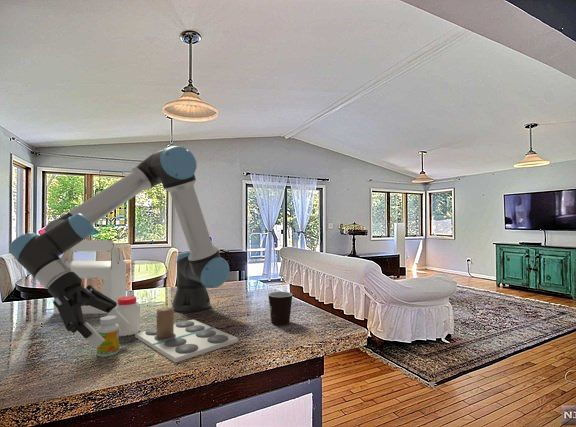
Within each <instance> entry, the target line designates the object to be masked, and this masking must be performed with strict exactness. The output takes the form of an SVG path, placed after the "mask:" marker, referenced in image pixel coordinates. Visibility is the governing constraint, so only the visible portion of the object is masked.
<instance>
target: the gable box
mask: <svg viewBox="0 0 576 427" xmlns="http://www.w3.org/2000/svg"><path fill="white" fill-rule="evenodd" d="M77 252H78V253H79V252H80V253H81V252H89V253H90V252H99V253H100V252H101V253H102V252H108V253H111V255H110V259H111V260H75V254H74V253H77ZM60 258H61V259H62V261H64V262H65V263H66V264H67V265H68V266H69V267H70V268H71V269H72V271H71V272H75V273H76V274H77V275H78V276H79V277H80V278H81V279H85V280H87V279H94V278H95V279H96V278H97V279H102V280H103V284H102V287H101V290H100V293H102V294H103V295H105V296H107V297H108V298H110V299H112V300H113V301H115V302H116V303H117V304H118V298H120V297H125V296H127V263H126V261H125V260H124V259H123V257H122V255H121V253H120V248H119V247H115V242H113V240H111V239H108V240H107V239H96V240H94V239H93V240H92V239H91V240H90V239H84V240H83V241H81V242H80V243H78V244H76V245H75V246H73V247H72V248H70V249H69V250H67V251H66V252H64V253H63V254H62V256H61V257H60ZM81 286H82V287H83V288H85V287H84V283H83V281H82V282H81ZM54 300H55V298H54V297H53V301H54ZM81 309H82V314H83V315H91V314H92V315H93V314H95V315H100V314H101V315H104V314H105V315H107V314H108V313H107V312H104V311H102V310H99V309H97V308H94V307H92V306H89V305H88V306H85V305H84V306H81ZM53 315H60V313H59V311H58V308H57V307H56V306H55V305H54V304H53Z"/></svg>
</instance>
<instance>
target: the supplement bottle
mask: <svg viewBox="0 0 576 427" xmlns="http://www.w3.org/2000/svg"><path fill="white" fill-rule="evenodd" d="M96 329H97V330H96V331H97V332H98V333H99V334H100V335H101V336H102V337H103V338H104V339H105V341H104V342H103V343H102V344H101V345H100V346H99V347H98V348H96V355H97V356H98V357H102V358H105V357H111V356H114V355H116V354H117V353H118V352H119V350H120V336H119V325H118V324H116V316H107V315H106V316H103V317H100V318H99V326H98V327H97V328H96Z"/></svg>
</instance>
